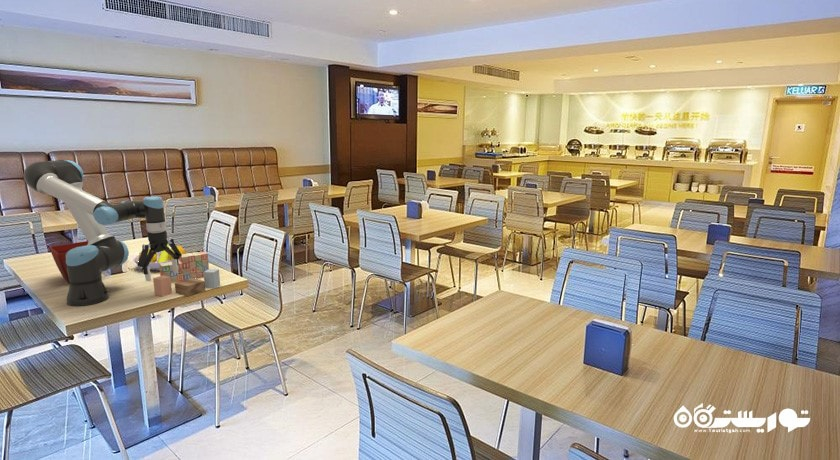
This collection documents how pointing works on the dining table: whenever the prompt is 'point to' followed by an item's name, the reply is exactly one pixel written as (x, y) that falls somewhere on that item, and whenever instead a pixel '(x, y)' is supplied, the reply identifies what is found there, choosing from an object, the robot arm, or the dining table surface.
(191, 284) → the walnut base
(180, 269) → the stack of blocks
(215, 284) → the greyblue block
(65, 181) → the robot arm
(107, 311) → the dining table surface
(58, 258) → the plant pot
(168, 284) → the terracotta block
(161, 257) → the fruit bowl
